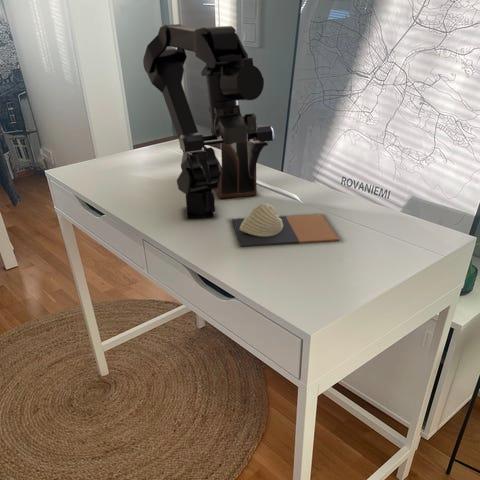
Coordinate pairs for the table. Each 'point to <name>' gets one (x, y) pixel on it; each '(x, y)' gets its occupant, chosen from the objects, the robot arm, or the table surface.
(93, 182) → the table surface
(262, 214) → the seashell
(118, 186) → the table surface
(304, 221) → the desk pad
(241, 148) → the letter holder
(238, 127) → the robot arm
